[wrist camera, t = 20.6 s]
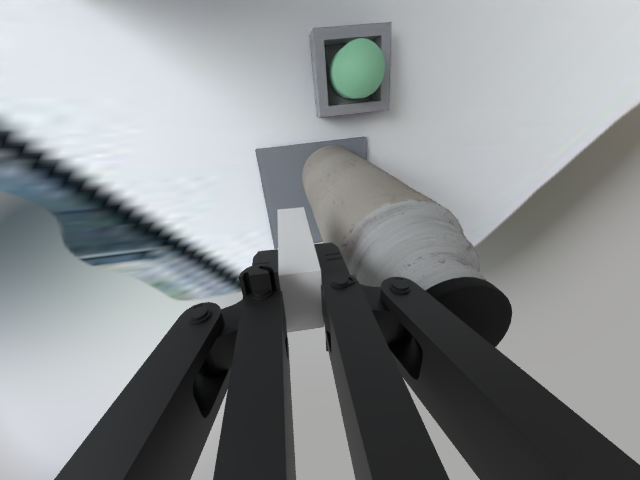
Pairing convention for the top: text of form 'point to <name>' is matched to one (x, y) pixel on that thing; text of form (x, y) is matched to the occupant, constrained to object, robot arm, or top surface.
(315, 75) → the button housing
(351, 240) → the thermos bottle
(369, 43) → the button
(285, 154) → the pad
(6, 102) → the top surface
